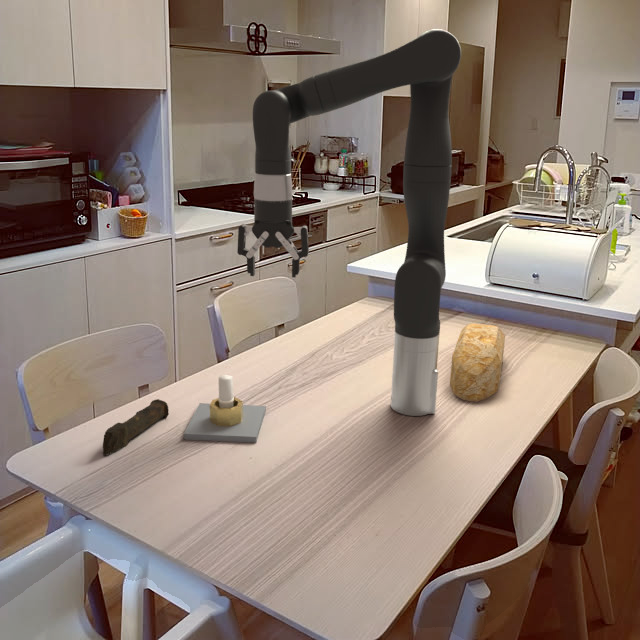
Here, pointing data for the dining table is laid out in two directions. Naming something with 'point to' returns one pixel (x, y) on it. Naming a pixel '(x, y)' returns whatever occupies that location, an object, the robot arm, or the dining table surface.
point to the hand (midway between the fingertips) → (273, 275)
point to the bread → (477, 362)
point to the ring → (226, 413)
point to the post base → (237, 433)
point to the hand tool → (133, 426)
